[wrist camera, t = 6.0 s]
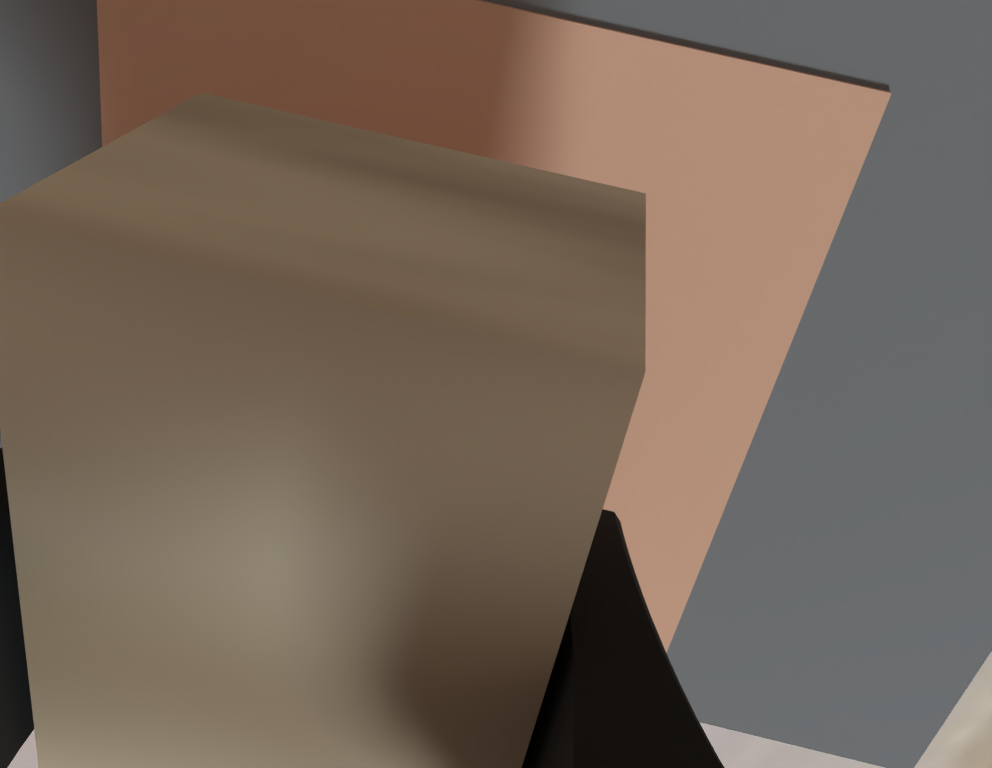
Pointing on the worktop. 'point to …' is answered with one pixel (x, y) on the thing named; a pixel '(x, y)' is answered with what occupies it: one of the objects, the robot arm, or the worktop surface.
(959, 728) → the worktop surface
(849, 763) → the worktop surface
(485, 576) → the card box
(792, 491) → the mat
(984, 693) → the worktop surface
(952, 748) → the worktop surface
